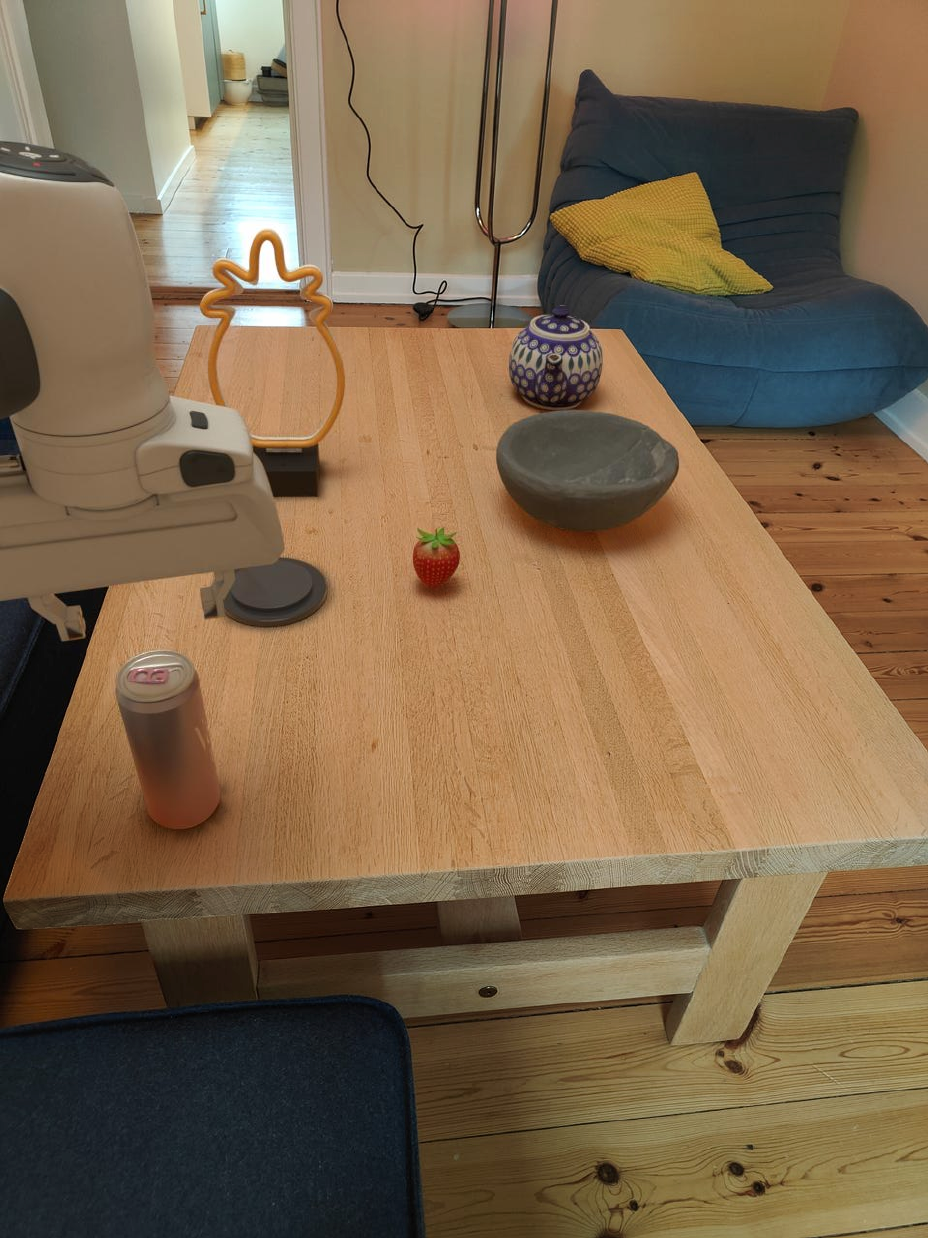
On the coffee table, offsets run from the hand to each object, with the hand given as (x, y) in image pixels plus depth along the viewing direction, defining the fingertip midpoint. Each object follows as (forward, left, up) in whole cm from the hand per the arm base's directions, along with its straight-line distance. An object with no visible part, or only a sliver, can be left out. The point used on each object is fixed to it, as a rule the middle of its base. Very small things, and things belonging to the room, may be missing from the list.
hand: (146, 623), depth 60 cm
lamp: (+16, +53, -20) cm, 59 cm away
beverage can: (0, 0, -20) cm, 20 cm away
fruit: (+29, +25, -20) cm, 43 cm away
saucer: (+11, +28, -20) cm, 36 cm away
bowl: (+52, +37, -20) cm, 67 cm away
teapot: (+62, +71, -20) cm, 96 cm away
